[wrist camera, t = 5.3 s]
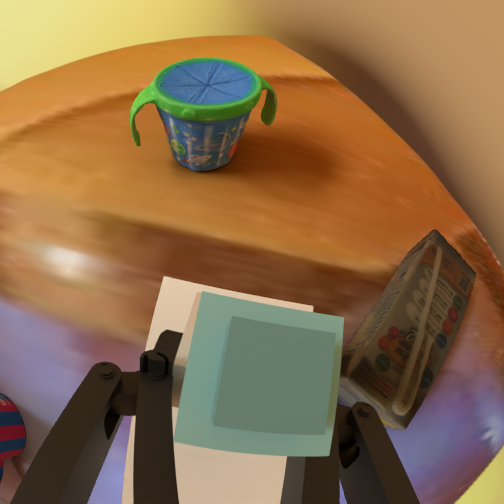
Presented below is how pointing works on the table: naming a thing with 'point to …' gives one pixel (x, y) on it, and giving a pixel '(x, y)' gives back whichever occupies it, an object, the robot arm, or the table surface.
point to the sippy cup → (205, 108)
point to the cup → (10, 431)
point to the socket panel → (204, 459)
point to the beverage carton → (408, 333)
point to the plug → (260, 379)
